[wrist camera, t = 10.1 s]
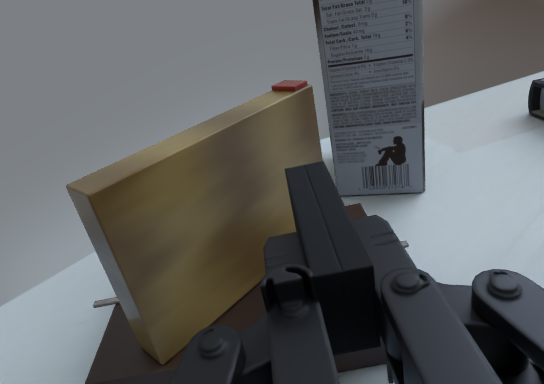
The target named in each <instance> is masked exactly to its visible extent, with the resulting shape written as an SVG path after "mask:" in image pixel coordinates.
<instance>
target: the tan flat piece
mask: <svg viewBox="0 0 544 384" xmlns="http://www.w3.org/2000/svg"><path fill="white" fill-rule="evenodd" d="M318 132H319V131H318V125H317V117H316V110H315V104H314V96H313V89H312V85H307V81H290V80H284V81H282V82H280V83H277V84H275V85H273V86H272V91H270V92H267V93H265V94H263V95H261V96H259V97H256V98H254V99H252V100H250V101H248V102H246V103H243V104H241V105H239V106H237V107H235V108H233V109H230V110H228V111H226V112H224V113H222V114H220V115H217V116H215V117H213V118H211V119H209V120H207V121H204V122H202V123H200V124H198V125H196V126H194V127H191V128H189V129H187V130H185V131H183V132H181V133H178V134H176V135H174V136H172V137H170V138H167V139H165V140H163V141H161V142H159V143H157V144H155V145H152V146H150V147H148V148H146V149H144V150H141V151H139V152H137V153H135V154H133V155H131V156H129V157H126V158H124V159H122V160H120V161H118V162H115V163H113V164H111V165H109V166H107V167H105V168H102V169H100V170H98V171H96V172H94V173H91V174H89V175H87V176H85V177H83V178H81V179H79V180H76V181H74V182H72V183H70V184H68V185H66V188H67V190H68V193H69V195H70V197H71V199H72V201H73V203H74V205H75V208H76V210H77V211H78V214H79V216H80V218H81V221H82V223H83V225H84V227H85V229H86V231H87V233H88V236H89V238H90V240H91V242H92V244H93V246H94V248H95V251H96V253H97V255H98V257H99V259H100V261H101V264H102V266H103V268H104V270H105V272H106V274H107V276H108V279H109V281H110V283H111V285H112V287H113V289H114V291H115V294H116V296H117V298H118V300H119V302H120V304H121V307H122V309H123V311H124V313H125V315H126V317H127V319H128V322H129V324H130V326H131V328H132V330H133V332H134V334H135V337H136V339H137V341H138V343H139V345H140V347H141V348H142V349H144V350H145V351H146V352H147V353H148V354H150V355H151V356H152V357H153V358H154V359H156V360H157V361H158V362H159V363H160V364H162V365H164V364H165V363H166V362H167V361H169V360H170V359H171V358H172V357H173V356H174V355H175V354H177V353H178V352H179V351H180V350H181V349H182V348H184V347H185V346H186V345H187V344H188V343H189V342H190V340H191V338H192V337H193V336H194V335H196V334H197V333H198V332H199V331H200V330H202V329H205V328H207V327H208V326H209V325H210V324H212V323H213V322H214V321H215V320H216V319H217V318H218V317H220V316H221V315H222V314H223V313H224V312H225V311H227V310H228V309H229V308H230V307H231V306H232V305H234V304H235V303H236V302H237V301H238V300H239V299H241V298H242V297H243V296H244V295H245V294H246V293H248V292H249V291H250V290H251V289H252V288H253V287H255V286H256V285H257V284H258V283H259V282H260V281H261V279H262V278H263V277H264V276H265V274H266V272H265V261H264V251H263V247H264V245H265V243H266V241H267V239H268V238H269V237H272V236H277V235H282V234H288V233H293V232H296V227H295V222H294V217H293V211H292V206H291V201H290V195H289V190H288V185H287V180H286V174H285V169H286V168H291V167H296V166H301V165H306V164H311V163H316V162H321V161H323V159H322V152H321V145H320V139H319V133H318Z"/></svg>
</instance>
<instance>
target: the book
mask: <svg viewBox="0 0 544 384" xmlns="http://www.w3.org/2000/svg"><path fill="white" fill-rule="evenodd" d="M528 108H529V113H530V114H532V115H534V116H537V117H539V118H542V119H544V78H542V79H538V80H533V82H532V84H531V87H530V91H529V97H528Z"/></svg>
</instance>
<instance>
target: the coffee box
mask: <svg viewBox="0 0 544 384" xmlns="http://www.w3.org/2000/svg"><path fill="white" fill-rule="evenodd" d="M313 7H314V15H315V22H316V29H317V37H318V45H319V53H320V60H321V68H322V76H323V84H324V92H325V99H326V106H327V115H328V123H329V131H330V140H331V147H332V155H333V162H334V170H335V177H336V184H337V191H338V193H339V195H340V196H342V195H367V194H392V193H418V192H423V191H425V150H424V75H423V8H422V0H313Z"/></svg>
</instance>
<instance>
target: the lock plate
mask: <svg viewBox="0 0 544 384" xmlns="http://www.w3.org/2000/svg"><path fill="white" fill-rule="evenodd" d="M345 207H346V210H347V212H348V214H349V216H350V218H351V220H352V219H358V218H363V217H367V215H366V213H365V211H364V210H363V208H362V206H361V204H360V203H358V204H353V205H348V206H345ZM401 244H402V245H403V247H404V248H405V247H409V245H408V243H407V241H401ZM260 284H261V281H260V282H259V283H258V284H257V285H256V286H255V287H253V288H252V289H251V290H250V291H249V292H248V293H246V294H245V295H244V296H243V297H242V298H241V299H239V300H238V301H237V302H236V303H235V304H234V305H232V306H231V307H230V308H229V309H228V310H227V311H225V312H224V313H223V314H222V315H221V316H220V317H218V318H217V319H216V320H215V321H214V322H213V323H212V324H210V325H209V326H212V325H218V324H224V325H230V326H232V327H233V328H235V329H236V330H237V331H239V330H241V329H243V328H245V327H247V326H249V325H251V324H253V323H254V322H256V321H257V320H258V319H259V318H260V317H261V316H262V315H263V314H264V312H265V311H266V308H265V304H264V300H263V297H262V293H261V289H260ZM113 304H116V305H115V307H114V310H113V312H112V315H111V317H110V320H109V323H108V325H107V328H106V330H105V333H104V335H103V338H102V341H101V343H100V346H99V348H98V351H97V353H96V356H95V359H94V361H93V364H92V366H91V369H90V371H89V374H88V377H87V379H86V382H85V384H171V382H172V380H173V377H174V375H175V373H176V370H177V368H178V365H179V363H180V361H181V358H182V356H183V354H184V351H185V349H186V346H187V345H188V344H187V345H186V346H185V347H184V348H182V349H181V350H180V351H179V352H178V353H177V354H175V355H174V356H173V357H172V358H171V359H170V360H169V361H167V362H166V363H165V364H164V365H162V364H160V363H159V362H158V361H157V360H156V359H154V358H153V357H152V356H151V355H150V354H148V353H147V352H146V351H145V350H144V349H142V348H141V347H140V345H139V343H138V341H137V339H136V337H135V334H134V332H133V330H132V328H131V326H130V324H129V322H128V319H127V317H126V315H125V313H124V311H123V309H122V307H121V304H120V302H119V300H118V298H117V297H114V298H109V299H104V300H99V301H95V302H94V305H93V307H94V308H97V307H102V306H108V305H113ZM209 326H208V327H209ZM380 342H381V347H377V348H371V349H366V350H361V351H356V352H351V353H345V354H340V355H335V356H333V357H334V361H335V365H336V369H337V372H340V371H345V370H351V369H356V368H361V367H366V366H372V365H377V364H382V363H387V361H386V350H385V346H384V343H383V341H382V338H381V336H380Z"/></svg>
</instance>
